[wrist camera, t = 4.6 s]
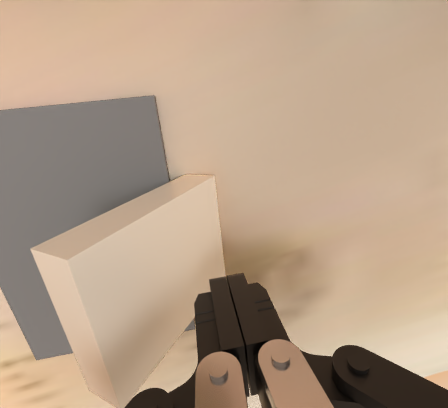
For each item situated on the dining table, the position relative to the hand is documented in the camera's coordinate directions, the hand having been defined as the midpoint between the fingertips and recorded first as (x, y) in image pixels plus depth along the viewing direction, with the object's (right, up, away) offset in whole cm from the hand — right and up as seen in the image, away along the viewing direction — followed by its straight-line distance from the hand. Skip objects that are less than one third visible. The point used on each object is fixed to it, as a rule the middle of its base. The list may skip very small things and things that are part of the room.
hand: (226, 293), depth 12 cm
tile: (-1, +2, +5) cm, 6 cm away
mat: (-9, +1, +5) cm, 10 cm away
